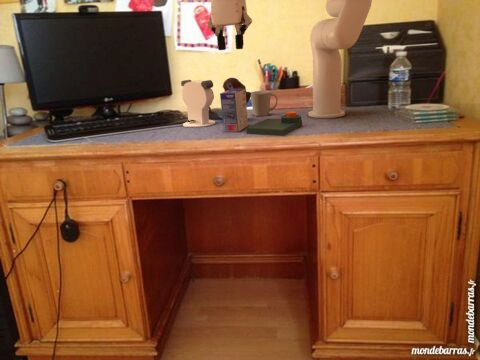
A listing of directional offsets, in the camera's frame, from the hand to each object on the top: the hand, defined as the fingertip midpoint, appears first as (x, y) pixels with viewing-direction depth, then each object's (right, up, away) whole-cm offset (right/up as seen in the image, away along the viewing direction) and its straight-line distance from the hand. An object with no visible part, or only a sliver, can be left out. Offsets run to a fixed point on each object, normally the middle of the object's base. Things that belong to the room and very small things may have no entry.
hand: (230, 48), depth 117 cm
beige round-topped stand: (-11, -20, +20) cm, 30 cm away
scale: (+14, -24, +3) cm, 28 cm away
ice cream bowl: (+2, -18, +22) cm, 29 cm away
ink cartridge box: (+1, -23, +8) cm, 25 cm away
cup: (+12, -15, +29) cm, 35 cm away
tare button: (+19, -20, +4) cm, 28 cm away
